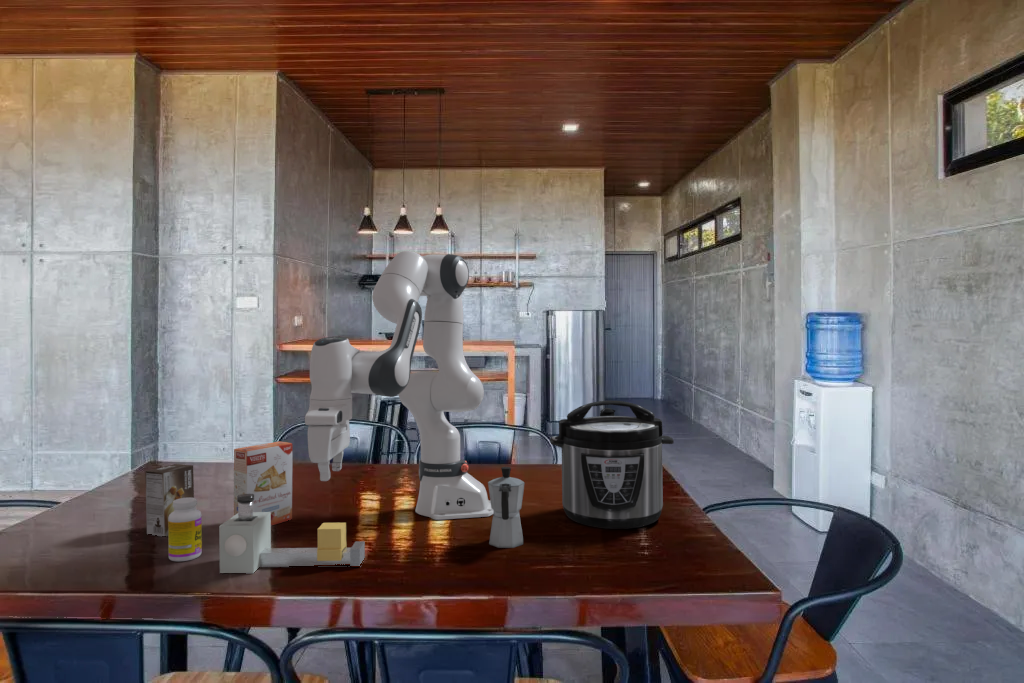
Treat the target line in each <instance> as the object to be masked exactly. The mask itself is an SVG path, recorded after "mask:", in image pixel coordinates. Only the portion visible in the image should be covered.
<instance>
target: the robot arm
mask: <svg viewBox="0 0 1024 683" xmlns="http://www.w3.org/2000/svg"><path fill="white" fill-rule="evenodd" d="M469 279H470V270H469V266H468V263H467V262H466V260H465V259H464V258H463V257H462V256H460V255H456V254H452V253H448V254H426V255H421V254H419V253H418V252H417V251H416V252H415V251H413V250H402V251H399V252H398V253H397V254H395V256H394V257H393V258H392V259H391V260H390V261H389V263H388V264H387V266H386V267H385V268H384V270H383V271H382V273H381V275H380V276H379V278H378V281H377V282H376V284H375V286H374V288H373V292H372V295H371V297H372V298H371V299H372V303H373V306H374V307H375V310H376V311H377V313H378V314H380V315H381V316H382V317H383V319H386V320H387V321H389V322H390V323H393V324H396V327H395V330H394V332H393V337H392V340H391V343H390V346H389V347H388V348H386V349H385V350H382V351H365V350H364V351H363V350H362V351H361V350H360V349H358V348H356V347H354V346H353V345H352V344H351V343H350V340H349V338H347V337H346V336H339V335H338V336H330V337H329V336H327V337H322V338H319V339H318V340H316V341H314V342H313V345H312V348H311V351H310V359H309V380H310V384H311V385H310V386H311V392H310V395H309V405H308V406H309V408H308V410H307V412H306V413H305V416H304V424H305V426H308V427H307V447H308V448H307V450H308V457H309V461H310V463H315V464H316V463H317V468H318V471H319V481H321V482H327V481H329V480H330V479H331V470H332V471H333V472H340V471H341V470H342V468H343V466H342V465H343V464H342V463H343V457H344V451H345V449H346V448H348V447H349V446H350V444H351V442H350V441H351V432H350V429H351V428H350V420H352V419H353V393H354V394H361V395H377V396H381V397H386V398H387V397H389V398H395V397H397V396H398V399H399V400H400V401H399V402H401V403H402V405H403V406H404V407H405V408H406V409H407V410H408V411H409V413H411V415H412V417H413V418H414V421H415V423H416V425H417V429H418V431H419V438H420V441H419V442H420V461H419V464H418V478H419V481H420V482H419V489H418V490H419V492H418V497H417V502H416V507H415V513H416V514H418V515H421V516H424V517H429V518H431V519H432V520H437V521H438V520H439V521H440V520H441V521H442V520H453V519H469V518H481V517H482V518H483V517H485V518H486V517H490V516H493V509H492V508H491V501H490V500H489V498H488V492H487V490H486V487H485V485H484V484H483V483H481V482H480V481H479V480H477V479H476V478H475V477H473V475H471V474H470V473H468V471H469V464H468V462H467V460H464V459H461V434H460V431H459V430H458V428H456V426H454V425H453V424H451V423H450V422H449V420H448V419H447V417H446V416H445V413H447V412H450V413H464V412H470V411H475V410H477V409H478V408H479V407H480V405H481V404H482V402H483V399H484V395H485V391H484V390H485V389H484V385H483V382H482V380H480V378H479V377H478V376H477V375H476V374H475V373H474V372H473V371H472V370H471V368H470V367H469V365H468V363H467V361H466V358H465V353H464V341H463V340H464V338H463V337H464V307H463V306H464V305H463V299H462V298H463V296H462V294H463V292H464V290H465V289H466V288H467V285H468V283H469ZM420 297H426V299H427V300H426V304H425V310H424V320H423V341H422V347H423V350H424V352H425V354H426V355H427V356H429V357H430V358H432V359H433V360H434V361H435V362H436V365H437V368H438V371H418V372H413V373H411V369H412V368H411V367H412V360H413V357H414V352H415V348H416V345H417V340H418V336H419V333H420V328H421V325H422V319H423V310H422V307H421V305H420V304H419V299H420ZM331 460H332V462H330V461H331ZM330 463H331V464H330ZM330 465H331V467H332V468H331V470H330Z"/></svg>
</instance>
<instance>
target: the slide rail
mask: <svg viewBox="0 0 1024 683" xmlns="http://www.w3.org/2000/svg"><path fill="white" fill-rule="evenodd" d="M365 546H366V544H365V541H364V540H362V541H358V540H357V541H354V543H353V545H352V546H351V547H347V548H344V549H343V550H342V560H341V561H317V549H318V547H273V548H272V547H271V548H265V549H264V550H263V551H262V552H261V553H260V568H280V567H281V568H290V567H289V566H314V565H335V564H336V565H337V564H340V565H341V564H342V565H343V564H344V565H345V564H350V566H360V564H361V563H362V561H363V560H364V558H366V556H365V555H366V554H365V553H366V552H365V548H366V547H365ZM364 561H365V560H364ZM364 561H363V562H364ZM362 564H363V563H362ZM350 566H349V567H350ZM360 567H361V566H360Z"/></svg>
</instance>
